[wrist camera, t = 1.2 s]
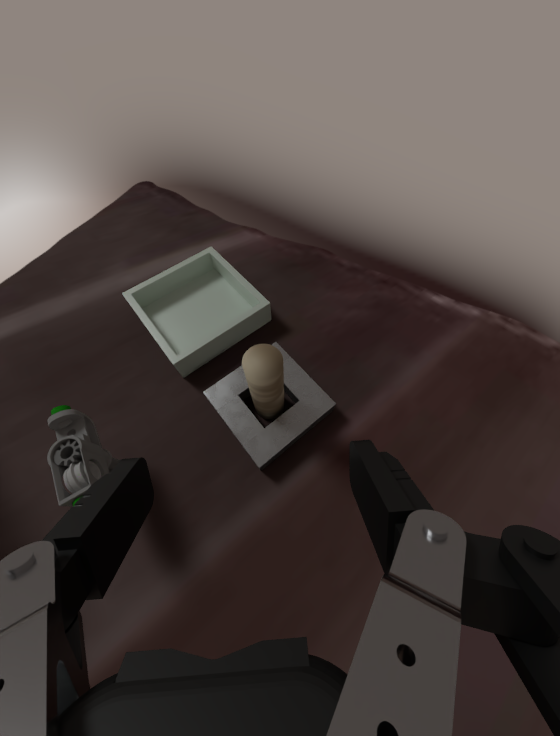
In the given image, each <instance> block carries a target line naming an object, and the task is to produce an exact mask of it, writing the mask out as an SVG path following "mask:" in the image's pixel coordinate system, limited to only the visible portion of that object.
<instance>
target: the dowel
mask: <svg viewBox="0 0 560 736" xmlns="http://www.w3.org/2000/svg"><path fill="white" fill-rule="evenodd" d="M242 367H243V370H244V373H245V377H246V380H247V383H248V387H249V390H250V393H251V397H252V400H253V403H254V407H255V410H256V412H257V414H258V415H259V416H260V417H262V418H264V419H274V418H276V417H278V416H279V415H280V414H281V413H282V412H283V410H284V368H283V356H282V354H281V352H280V351H279V350H278V349H277V348H276V347H274V346H272V345H269V344H257V345H254V346H252V347H251V348H249V349H248V350H247V351H246V352H245V354H244V356H243V358H242Z"/></svg>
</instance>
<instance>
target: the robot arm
mask: <svg viewBox="0 0 560 736" xmlns="http://www.w3.org/2000/svg"><path fill="white" fill-rule="evenodd" d="M350 483H351V488H352V491H353V494H354V497H355V499H356V502H357V504H358V507H359V509H360V512H361V515H362V517H363V520H364V522H365V525H366V527H367V530H368V532H369V535H370V538H371V540H372V543H373V545H374V548H375V550H376V553H377V555H378V558H379V561H380V563H381V566H382V568H383V571H384V573H385V574H384V575H383V577H382V579H381V581H380V584H379V587H378V590H377V593H376V596H375V598H374V601H373V604H372V607H371V610H370V613H369V615H368V618H367V621H366V624H365V627H364V630H363V633H362V635H361V638H360V641H359V644H358V647H357V650H356V653H355V655H354V658H353V661H352V664H351V667H350V670H349V673H348V675H347V674H346V673H345V672H344V671H342V670H341V669H340V668H338V667H337V666H335V665H333V664H332V663H330V662H329V661H326V660H324V659H322V658H319V657H317V656H313V655H309V654H308V648H307V638H306V637H300V638H289V639H277V640H265V641H261V642H258V643H256V644H253V645H251V646H248V647H246V648H244V649H241V650H239V651H236V652H234V653H231V654H229V655H227V656H224V657H222V658H219V659H216V660H211V659H207V658H203V657H199V656H196V655H192V654H188V653H185V652H181V651H177V650H174V649H161V650H149V651H138V652H126V655H125V657H124V660H123V662H122V665H121V667H120V670H119V672H118V673H117V674H115V675H113V676H111V677H109V678H107V679H105V680H103V681H102V682H100V683H99V684H97V685H96V686H94V687H93V688H91V689H90V685H89V679H88V671H87V661H86V652H85V642H84V632H83V623H82V616H81V613H80V608H81V607H82V605H83V603H84V602H85V600H93V599H103V597H104V595H105V593H106V591H107V589H108V587H109V586H110V584H111V582H112V580H113V578H114V576H115V574H116V573H117V571H118V569H119V567H120V565H121V563H122V561H123V559H124V558H125V556H126V554H127V552H128V550H129V548H130V546H131V545H132V543H133V541H134V539H135V537H136V535H137V533H138V532H139V530H140V528H141V526H142V524H143V522H144V520H145V518H146V517H147V515H148V513H149V511H150V509H151V507H152V504H153V499H154V491H153V487H152V483H151V479H150V475H149V470H148V466H147V463H146V460H145V459H144V458H131V459H122V460H120V461H119V463H118V464H117V465H116V466H115V467H114V468H113V470H112V471H111V472H110V473H109V474H106V475H104V476H103V477H102V478H100V479H99V480H97V481H96V482H94V483H93V484H92V485H91V486H90V487H89V488H88V490H87V491H86V492H85V493H84V494H83V497H80V499H79V500H78V501H77V502H76V503H75V504H74V507H71V509H70V510H69V511H68V512H67V513H66V514H65V515H64V516H63V518H62V519H61V520H60V521H59V522H58V523H57V524H56V525H55V526H54V528H53V529H52V530H51V531H50V532H49V533H48V534H47V535H46V537H45V538H44V539H43V540H42V541H38V542H34V543H31V544H28V545H26V546H23V547H21V548H19V549H17V550H16V551H14V552H12V553H11V554H9V555H8V556H6V557H5V558H4V559H2V560H1V561H0V736H452V726H453V714H454V702H455V690H456V678H457V666H458V654H459V642H460V630H461V624H462V625H466V626H470V627H473V628H477V629H481V630H484V631H488V632H491V633H494V634H495V635H496V637H497V639H498V641H499V642H500V644H501V646H502V647H503V649H504V651H505V653H506V654H507V656H508V658H509V659H510V661H511V663H512V665H513V666H514V668H515V670H516V671H517V673H518V675H519V676H520V678H521V680H522V682H523V683H524V685H525V687H526V688H527V690H528V692H529V694H530V695H531V697H532V699H533V700H534V702H535V704H536V705H537V707H538V709H539V711H540V712H541V714H542V716H543V717H544V719H545V721H546V723H547V724H548V726H549V728H550V729H551V731H552V733H553V734H554V736H560V541H559V540H558V539H556V538H554V537H553V536H551V535H549V534H547V533H545V532H543V531H540V530H538V529H535V528H532V527H528V526H522V525H512V526H509V527H507V528H505V529H504V530H503V532H502V536H501V539H497V538H492V537H486V536H481V535H476V534H471V533H467V532H464V531H463V530H462V528H461V527H460V526H459V525H458V524H457V523H456V522H455V521H454V520H453V519H451V518H450V517H448V516H446V515H444V514H442V513H440V512H437V511H434V510H433V508H432V507H431V505H430V504H429V503H428V501H427V500H426V498H425V497H424V496H423V494H422V493H421V491H420V490H419V489H418V487H417V486H416V485H415V483H414V482H413V480H411V478H410V476H409V475H408V473H407V472H406V471H405V469H404V468H403V466H402V465H401V464H400V462H399V461H398V460H397V459H396V458H394V457H393V456H392V455H390V454H389V453H387V452H378V451H377V449H376V448H375V446H374V444H373V443H372V441H371V440H361V441H351V442H350Z"/></svg>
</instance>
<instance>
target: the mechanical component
mask: <svg viewBox="0 0 560 736" xmlns="http://www.w3.org/2000/svg"><path fill="white" fill-rule="evenodd" d="M51 414H52V416H50V417H49V418H48V425H49V428H50V429H53V430H55V431H56V436H57V440H58V441H57V442H55V443H54V444H53V445H52V447H51V448H50V450H49V452H48V456H47V460H48V463H49V465H50V466H51V470H52V475H53V480H54V484H55V489H56V494H57V499H58V503H59V506H73V507H74V504H75V503H76V502H77V501H78V500H79V499H80V497H83V494H84V493H85V492H86V491H87V490H88V488H89V487H90V486H91V485H92V484H93V483H94V482H96V481H97V480H99V479H100V478H102V477H103V476H104V475H106V474H109V473H110V472H111V471H112V470H113V468H114V467H115V466H116V465H117V464H118V463H119V461H120V460H118V459H115V458H112V456H111V453H110V452H109V451H108V450H105V449H102V446H101V443H100V440H99V436H98V433H97V430H96V427H95V424H94V422H93V421H92V420H91V418H90V417H89V416H87V415H86V414H84V413H82V412H80V411H78V410H74V409H71V408H70V407H69V406H67V405H62V406H58V407H55V408H54V409H52V411H51ZM62 475H64V476H63V477H64V483H65V485H66V487H67V489H68V490H69V491H70V492H71V493H73V494H72V495H71V494H69V493H68V492H67V491H66V490H65V489H64V487H63V484H62Z"/></svg>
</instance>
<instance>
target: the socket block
mask: <svg viewBox="0 0 560 736" xmlns="http://www.w3.org/2000/svg"><path fill="white" fill-rule="evenodd" d="M272 346H274V347H276V348H277V349H278V350H279V351H280V352H281V354H282V356H283V368H284V391H285V392H286V394H287V395H288V396H289V397H290V398H291V399H292V400H293V401H294V402H295V405H294V406H292V407H291V408H290V409H289V410H287V411H286V412H285V413H283V414H282V415H281V416H280V417H278V418H277V419H276V420H275V421H273V422H272V423H271V424H270V425H268V426H267V427H266V428H264V427H263V426H262V425H261V424H260V422H259V421H258V420H257V419H256V417H255V416H254V415H253V414H252V412H251V411H250V410H249V409H248V407H247V406H246V405H245V404H244V402H243V400H244V399H246V398H247V397H248V396H250V395H251V393H250V390H249V387H248V383H247V380H246V377H245V373H244V370H243V367H242V366H240V367H239V368H237V369H236V370H234V371H233V372H231V373H230V374H229V375H227V376H226V377H224V378H223V379H221V380H220V381H218V382H217V383H216V384H214V385H213V386H211V387H210V388H208V389H207V390H205V391H204V392H203V393H204V394H205V396H206V397H207V399H208V400H209V401H210V403H211V404H212V405H213V407H214V408H215V409H216V411H217V412H218V413H219V415H220V416H221V418H222V419H223V420H224V422H225V423H226V424H227V426H228V427H229V428H230V430H231V431H232V432H233V434H234V435H235V436H236V438H237V439H238V441H239V442H240V443H241V445H242V446H243V447H244V449H245V450H246V451H247V453H248V454H249V455H250V457H251V458H252V460H253V461H254V462H255V464H256V465H257V466H258V468H259V469H260V470H261V471H262V470H263V469H264V468H265V467H267V466H268V465H269V464H270V463H271V462H273V461H274V460H275V459H276V458H277V457H278V456H280V455H281V454H282V453H283V452H284V451H286V450H287V449H288V448H289V447H290V446H292V445H293V444H294V443H295V442H296V441H298V440H299V439H300V438H301V437H302V436H303V435H305V434H306V433H307V432H308V431H309V430H311V429H312V428H313V427H314V426H315V425H317V424H318V423H319V422H320V421H321V420H323V419H324V418H325V417H326V416H327V415H328V414H330V413H331V412H332V411H333V410H334V407H335V405H336V403H335V402H334V401H333V400H332V399H331V398H330V397H329V396H328V395H327V394H326V393H325V392H324V391H323V390H322V389H321V388H320V387H319V386H318V385H317V384H316V383H315V382H314V381H313V380H312V379H311V378H310V377H309V375H308V374H307V373H306V372H305V371H304V370H303V369H302V368H301V367H300V366H299V365H298V364H297V363H296V362H295V361H294V360H293V359H292V358H291V357H290V356H289V355H288V354H287V353H286V352H285V351H284V350H283V349H282V348H281V347H280V346H279V345H278V344H277V342H275V343H273V344H272Z"/></svg>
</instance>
